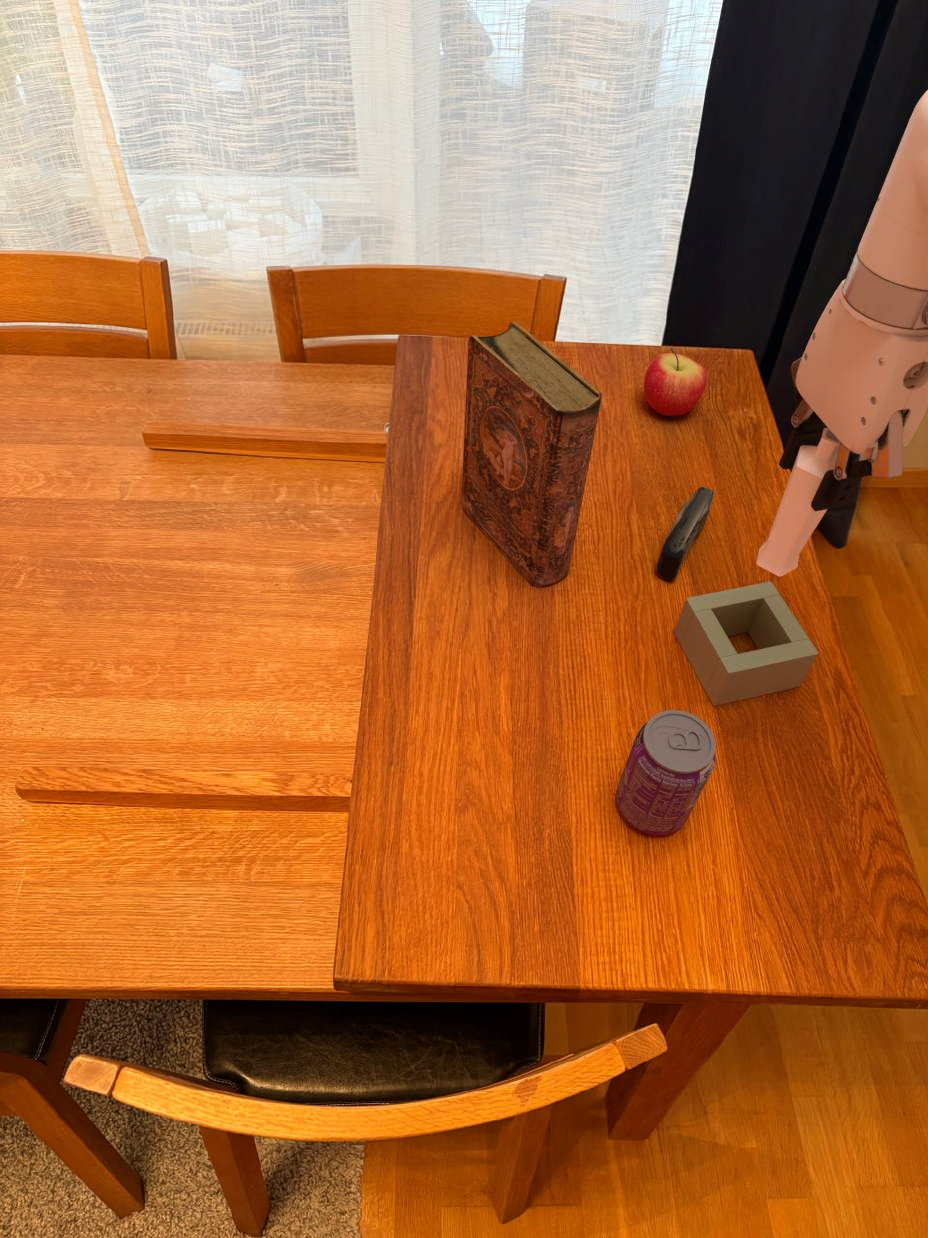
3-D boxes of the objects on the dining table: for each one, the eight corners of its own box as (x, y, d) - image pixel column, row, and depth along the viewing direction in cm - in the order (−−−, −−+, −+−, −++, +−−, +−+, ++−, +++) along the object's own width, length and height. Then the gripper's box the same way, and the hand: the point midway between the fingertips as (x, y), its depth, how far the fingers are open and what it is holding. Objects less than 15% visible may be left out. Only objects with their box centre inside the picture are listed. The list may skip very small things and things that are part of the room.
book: (575, 574, 101) (610, 399, 82) (538, 592, 99) (564, 418, 80) (496, 493, 110) (511, 317, 90) (461, 508, 108) (468, 332, 88)
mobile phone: (684, 558, 97) (723, 478, 105) (659, 549, 98) (699, 470, 106) (675, 586, 101) (713, 507, 109) (650, 577, 102) (690, 499, 110)
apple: (633, 391, 124) (646, 330, 117) (690, 390, 125) (707, 329, 117) (643, 427, 119) (658, 365, 111) (703, 426, 120) (722, 365, 112)
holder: (799, 687, 92) (819, 653, 87) (713, 706, 90) (728, 673, 85) (755, 615, 98) (771, 581, 93) (673, 632, 96) (685, 597, 92)
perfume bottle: (755, 578, 79) (812, 453, 68) (748, 543, 82) (801, 418, 70) (805, 581, 79) (870, 456, 68) (796, 546, 82) (857, 421, 70)
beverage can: (679, 770, 85) (710, 703, 76) (695, 837, 81) (730, 775, 71) (608, 773, 85) (631, 706, 75) (621, 840, 80) (647, 778, 71)
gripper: (1028, 349, 55) (906, 547, 69) (880, 224, 65) (799, 418, 79) (928, 364, 53) (824, 563, 68) (793, 234, 64) (726, 430, 78)
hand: (812, 483), depth 73 cm, fingers closed on perfume bottle, 4 cm apart
